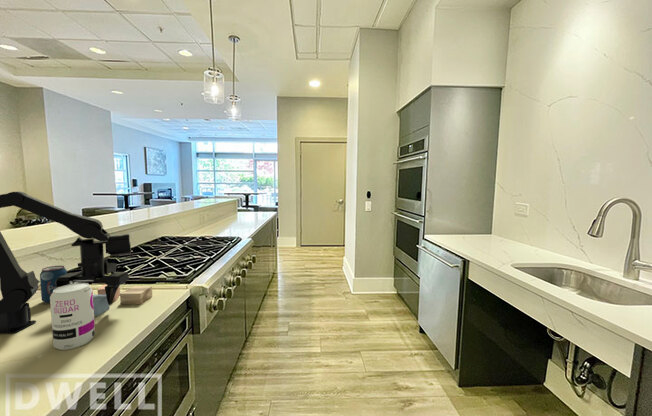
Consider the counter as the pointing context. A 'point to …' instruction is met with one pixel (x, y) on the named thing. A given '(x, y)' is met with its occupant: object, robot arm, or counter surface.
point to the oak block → (136, 295)
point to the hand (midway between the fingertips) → (95, 304)
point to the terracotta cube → (102, 292)
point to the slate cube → (100, 304)
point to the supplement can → (72, 315)
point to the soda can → (50, 280)
